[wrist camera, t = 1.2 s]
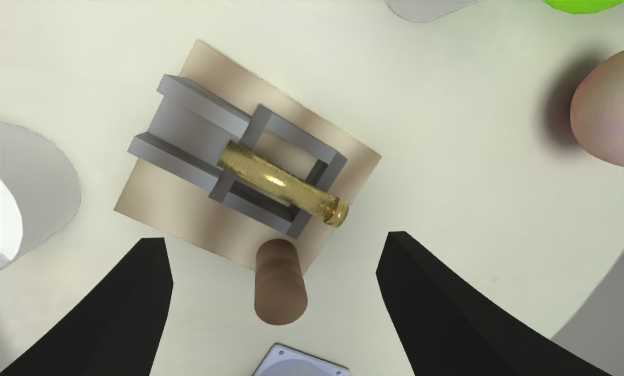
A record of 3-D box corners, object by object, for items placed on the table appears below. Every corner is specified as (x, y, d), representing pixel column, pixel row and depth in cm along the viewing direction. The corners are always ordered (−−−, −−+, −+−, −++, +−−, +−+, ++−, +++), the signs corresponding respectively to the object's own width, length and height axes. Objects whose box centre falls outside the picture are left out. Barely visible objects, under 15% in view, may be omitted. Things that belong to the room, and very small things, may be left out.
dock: (376, 153, 26) (410, 172, 20) (293, 279, 28) (301, 330, 23) (200, 41, 21) (176, 22, 15) (120, 204, 24) (73, 242, 18)
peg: (305, 249, 26) (317, 292, 21) (284, 281, 27) (290, 331, 21) (269, 231, 25) (271, 272, 20) (248, 265, 26) (244, 314, 20)
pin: (344, 198, 22) (351, 208, 20) (329, 220, 22) (335, 232, 20) (232, 135, 19) (229, 140, 17) (218, 162, 20) (213, 170, 18)
